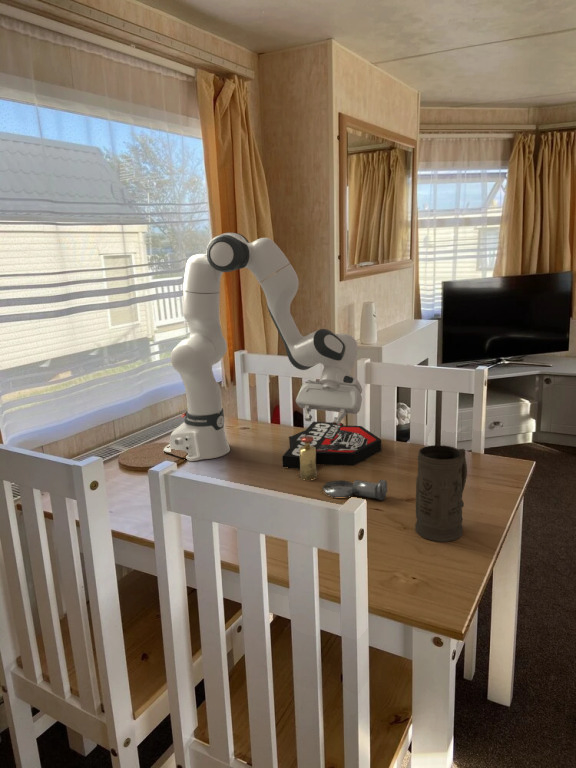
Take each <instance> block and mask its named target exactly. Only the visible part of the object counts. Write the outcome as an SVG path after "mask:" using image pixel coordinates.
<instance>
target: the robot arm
mask: <svg viewBox="0 0 576 768" xmlns="http://www.w3.org/2000/svg"><path fill="white" fill-rule="evenodd" d="M244 268H246V269H247V270H249V271H250V272H251V273H252V274H253V275H254V277H255V279H256V280H257V282H258V283H259V285H260V287H261V289H262V291H263V293H264V296H265V299H266V306H267V310H268V313H269V316H270V317H271V320H272V321H273V324H274V326H275V328H276V330H277V332H278V334H279V336H280V338H281V341H282V343H283V345H284V347H285V348H284V349H285V351H286V355H287V358H288V361H289V362H290V364H291V365H293V367H295V368H296V369H298V370H301V371H307V370H309V369H311V368H313V367H315V366H317V365H318V364H321V365H322V366H323V369H322V372H321V375H320V378H319V380H311V379H309V380H307V381H304V382H303V383H302V384H301V387H300V388H299V389H300V390H299V392H298V393H297V396H296V399H295V402H296V404H297V406H298V407H299V408H300V409H304V413H305V415H304V421H306V422H311V421H312V418H313V416H312V415H311V411H312V410H315V411H316V410H318V411H326V412H334V413H335V412H336V413H339V415H337V416H334V418H333V421H332V422H333V423H334V424H335V425H340V423H342V420H343V419H345V417H347V414H354V415H356V414H358V413H359V412H360V411H361V407H362V401H363V398H362V397H363V396H362V394H363V388H362V385H361V382H360V381H359V380H358V379H357V378H356V377H353V376H351V375H352V374H351V372H352V370H353V368H354V366H355V363H356V360H357V356H358V348H359V347H358V342H357V340H356V339H355V338H354V337H353V336H352V335H350V334H348V333H345V332H344V333H342V332H341V333H335V332H332V331H331V330H329V329H327V328H320V329H317V330H315V331H313V332H311V333H309V334H306V335H305V336H304V335H302V334H301V333H300V330H299V329H298V326H297V325H296V322H295V320H294V318H293V316H292V314H291V304H292V302H293V299H294V298H295V296H297V293H298V289H299V286H300V285H299V284H300V283H299V282H300V280H299V277H298V274H297V273H296V270H295V269H294V266H292V264H291V263H290V260H289V259H288V258H287V256H286V255H285V253H284V252H283V251H282V250H281V248H280V247H279V246H278V245H277V243H275V241H274V240H272V238H269V237H260V238H258V239H257V238H256V239H255V240H253V241H252V242H250V241H249V240H248V238H246V236H244V235H243V234H241V233H237V232H225V233H221V234H219V235H216V236H214V237H213V238H212V239H211V240H210V241H209V242H208V244H207V246H206V253H197V254H194V255H191V256H190V257H189V258H188V260H187V262H186V265H185V270H184V271H185V272H184V278H183V293H182V295H183V297H182V301H183V302H182V303H183V304H182V305H183V306H182V314H183V318H184V319H185V320H186V322H187V325H188V329H189V337H188V338H184V339H183V340H180V342H179V343H177V344H176V346H174V348H173V349H172V351H171V353H170V362H171V363H170V364H171V365H172V367H173V368H174V370H176V372H177V373H179V374H180V377H181V380H182V383H183V385H184V391H185V395H186V404H187V406H186V407H187V411H185V412H184V413H181V414H180V416H181V418H184V420H183V422H182V423H181V424H180V425H178V426H177V427H176V428H175V429H174V430H173V431H172V432H171V434H170V437H169V444H167V445H165V447H164V448H163V451H165V452H171V449H175V450H182V451H185V452H187V453H188V455H187V456H186V459H187V460H186V461H189V462H197V461H201V460H210V459H211V460H212V459H215V458H219V457H223V456H225V455H227V454H229V452H230V450H231V447H230V445H229V442H228V439H227V435H226V430H225V411H224V408H223V406H222V405H223V403H222V402H223V401H222V391H221V385H220V384H219V383H218V382H217V381H216V378H215V375H214V372H213V366H214V365H215V364H218V363H219V362H220V361H222V359H223V358H224V356H225V355H226V353H227V350H228V349H227V348H228V343H227V341H226V339H225V337H224V336H223V332H222V326H221V321H220V298H221V297H220V295H221V293H220V290H221V279H222V276H223V274H224V273H229V272H230V273H231V272H234V271H237V270H240V269H244ZM169 446H170V447H169ZM167 447H169V448H167Z"/></svg>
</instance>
